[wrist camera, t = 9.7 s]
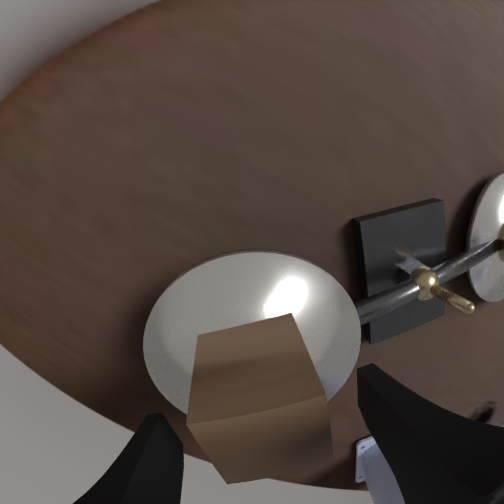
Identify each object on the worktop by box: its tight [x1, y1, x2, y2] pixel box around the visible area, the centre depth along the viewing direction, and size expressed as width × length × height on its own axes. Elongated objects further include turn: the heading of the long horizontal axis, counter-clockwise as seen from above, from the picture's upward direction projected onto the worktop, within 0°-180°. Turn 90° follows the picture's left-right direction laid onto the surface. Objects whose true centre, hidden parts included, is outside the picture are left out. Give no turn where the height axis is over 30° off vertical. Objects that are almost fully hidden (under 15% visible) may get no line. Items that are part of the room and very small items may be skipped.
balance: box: [143, 171, 504, 414], centre depth 14 cm, size 10×30×6 cm, turn 104°
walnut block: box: [186, 312, 334, 484], centre depth 10 cm, size 4×4×5 cm
